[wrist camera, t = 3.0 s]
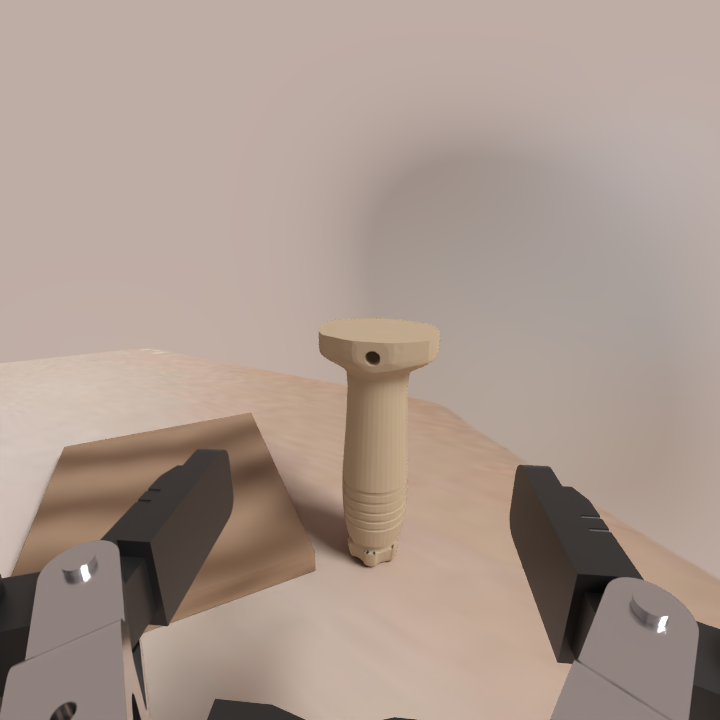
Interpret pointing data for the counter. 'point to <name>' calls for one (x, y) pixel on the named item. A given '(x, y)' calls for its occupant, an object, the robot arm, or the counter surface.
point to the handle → (376, 423)
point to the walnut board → (134, 476)
